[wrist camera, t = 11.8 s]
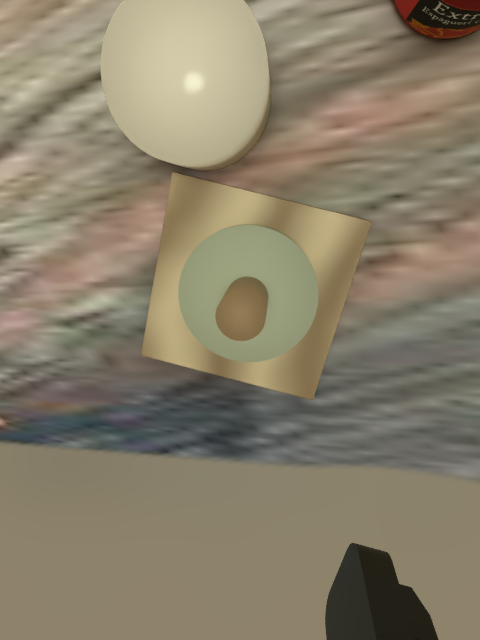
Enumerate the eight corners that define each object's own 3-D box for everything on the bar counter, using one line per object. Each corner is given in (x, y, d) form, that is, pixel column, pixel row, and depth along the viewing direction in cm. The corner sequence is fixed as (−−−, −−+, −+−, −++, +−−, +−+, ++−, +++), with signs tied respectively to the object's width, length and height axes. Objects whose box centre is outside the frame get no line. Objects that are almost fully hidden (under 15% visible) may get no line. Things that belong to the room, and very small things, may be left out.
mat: (368, 220, 28) (371, 221, 27) (311, 394, 33) (312, 400, 32) (176, 172, 29) (172, 172, 28) (145, 350, 33) (140, 355, 32)
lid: (335, 243, 28) (348, 255, 22) (296, 371, 31) (299, 410, 25) (195, 209, 28) (173, 212, 23) (170, 338, 31) (146, 370, 26)
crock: (286, 38, 26) (288, -7, 20) (252, 184, 28) (245, 181, 23) (150, 5, 26) (112, -49, 20) (129, 153, 29) (91, 143, 23)
